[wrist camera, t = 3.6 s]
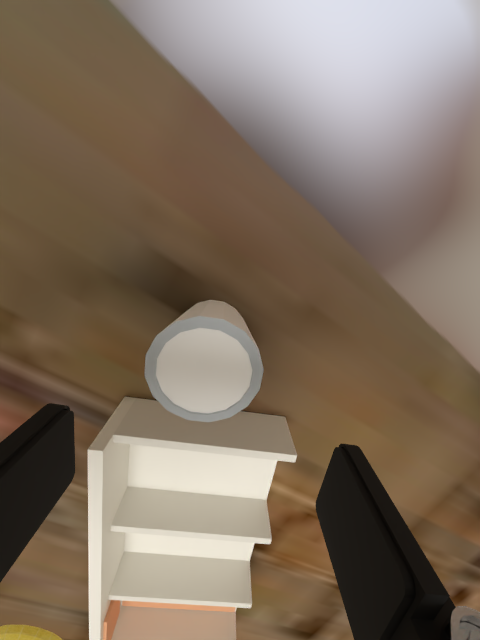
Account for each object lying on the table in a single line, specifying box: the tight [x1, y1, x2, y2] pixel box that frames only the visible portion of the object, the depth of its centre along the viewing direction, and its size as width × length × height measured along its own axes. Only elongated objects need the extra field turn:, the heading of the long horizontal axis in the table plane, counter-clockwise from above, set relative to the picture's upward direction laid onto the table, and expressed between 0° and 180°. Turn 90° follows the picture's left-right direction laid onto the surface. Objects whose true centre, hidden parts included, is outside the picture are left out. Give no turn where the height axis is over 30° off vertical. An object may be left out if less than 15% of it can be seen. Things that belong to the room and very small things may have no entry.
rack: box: [88, 397, 297, 640], centre depth 24 cm, size 29×15×6 cm, turn 170°
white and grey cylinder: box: [145, 300, 264, 422], centre depth 17 cm, size 7×7×7 cm
